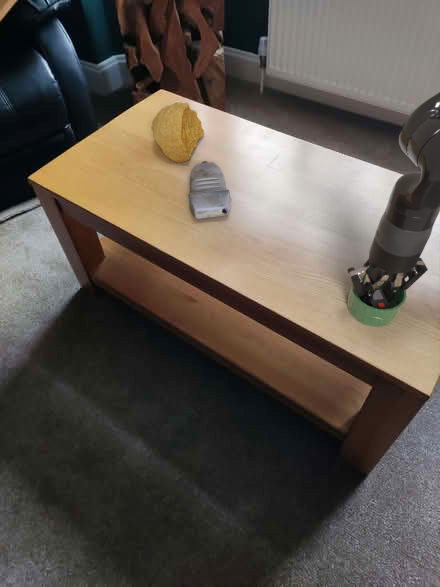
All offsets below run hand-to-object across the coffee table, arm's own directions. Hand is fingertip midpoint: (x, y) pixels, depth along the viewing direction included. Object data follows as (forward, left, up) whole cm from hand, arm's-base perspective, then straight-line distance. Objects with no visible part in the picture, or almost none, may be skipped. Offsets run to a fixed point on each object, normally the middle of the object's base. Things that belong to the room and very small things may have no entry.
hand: (374, 302), depth 80 cm
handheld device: (+26, -39, -1) cm, 47 cm away
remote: (0, 0, 0) cm, 0 cm away
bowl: (0, 0, -1) cm, 1 cm away
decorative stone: (+31, -60, -1) cm, 67 cm away
